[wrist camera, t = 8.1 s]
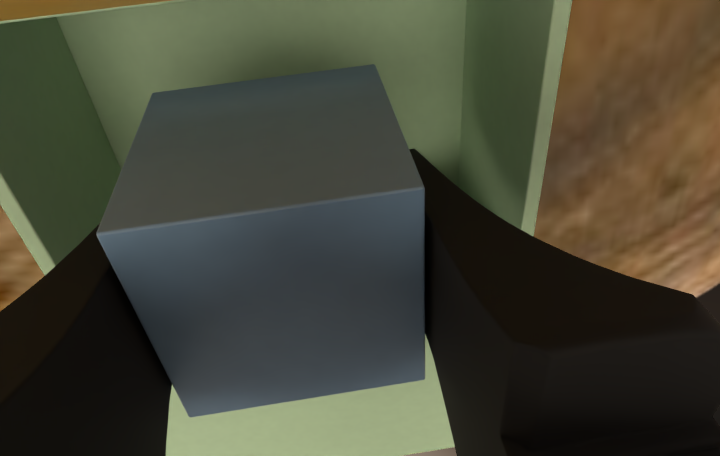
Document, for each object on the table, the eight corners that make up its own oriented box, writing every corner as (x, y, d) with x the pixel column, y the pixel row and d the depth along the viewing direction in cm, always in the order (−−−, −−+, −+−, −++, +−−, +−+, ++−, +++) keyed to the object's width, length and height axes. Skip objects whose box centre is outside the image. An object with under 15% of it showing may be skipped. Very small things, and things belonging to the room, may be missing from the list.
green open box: (13, -60, 14) (-149, 29, 9) (480, -112, 15) (605, -61, 9) (189, 341, 25) (166, 497, 19) (458, 299, 26) (511, 438, 20)
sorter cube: (386, 233, 15) (425, 380, 11) (209, 258, 14) (188, 418, 11) (375, 62, 12) (425, 186, 8) (151, 91, 11) (93, 234, 8)
